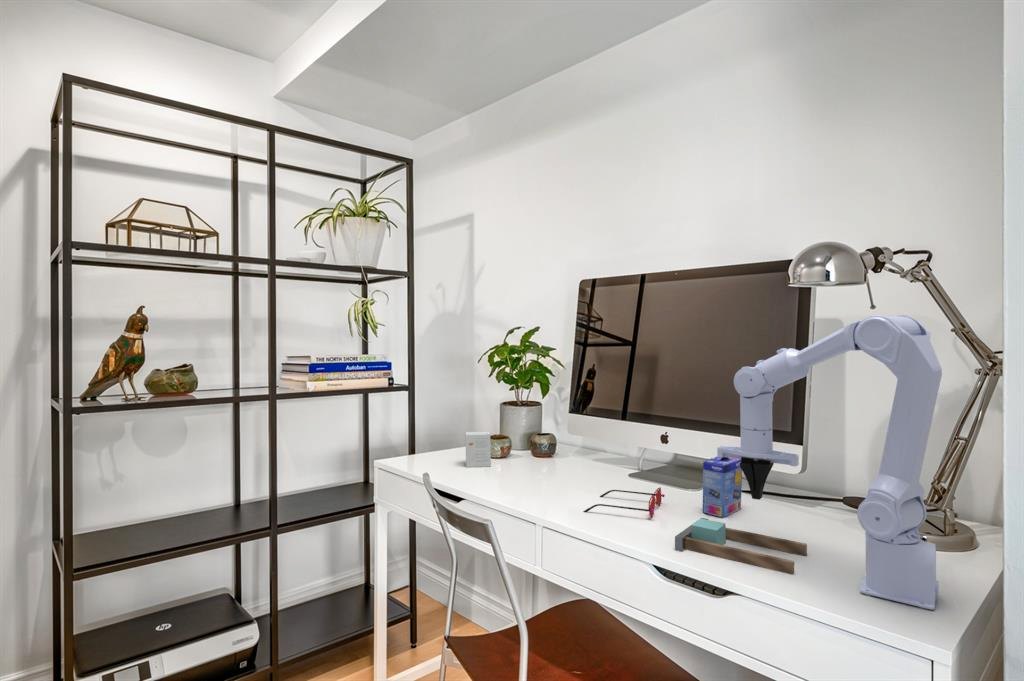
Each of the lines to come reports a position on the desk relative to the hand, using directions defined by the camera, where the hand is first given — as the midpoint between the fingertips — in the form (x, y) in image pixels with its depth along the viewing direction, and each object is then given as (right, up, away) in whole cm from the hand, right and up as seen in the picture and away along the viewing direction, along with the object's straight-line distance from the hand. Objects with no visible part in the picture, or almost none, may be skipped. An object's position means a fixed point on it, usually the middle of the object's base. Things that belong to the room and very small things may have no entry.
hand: (756, 498), depth 109 cm
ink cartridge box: (+1, -9, +22) cm, 24 cm away
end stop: (-11, -10, +4) cm, 15 cm away
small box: (-59, -10, +71) cm, 93 cm away
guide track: (-3, -10, -3) cm, 10 cm away
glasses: (-21, -10, +25) cm, 34 cm away
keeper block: (-9, -10, +2) cm, 13 cm away
